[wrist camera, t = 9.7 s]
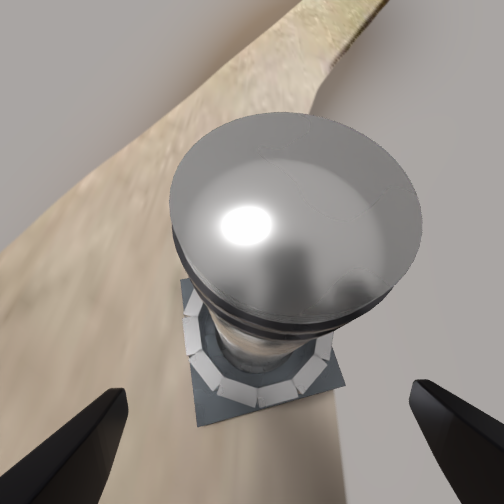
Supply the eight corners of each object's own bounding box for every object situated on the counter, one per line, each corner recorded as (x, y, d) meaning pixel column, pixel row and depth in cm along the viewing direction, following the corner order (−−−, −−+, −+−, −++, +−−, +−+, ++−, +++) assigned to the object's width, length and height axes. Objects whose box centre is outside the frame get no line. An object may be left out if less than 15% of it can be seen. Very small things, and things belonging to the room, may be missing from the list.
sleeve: (342, 385, 15) (365, 385, 12) (198, 425, 14) (188, 436, 11) (298, 258, 19) (308, 237, 16) (181, 282, 18) (171, 263, 15)
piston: (294, 378, 15) (479, 361, 3) (209, 367, 15) (103, 312, 3) (297, 296, 17) (412, 117, 6) (223, 287, 17) (189, 91, 6)
